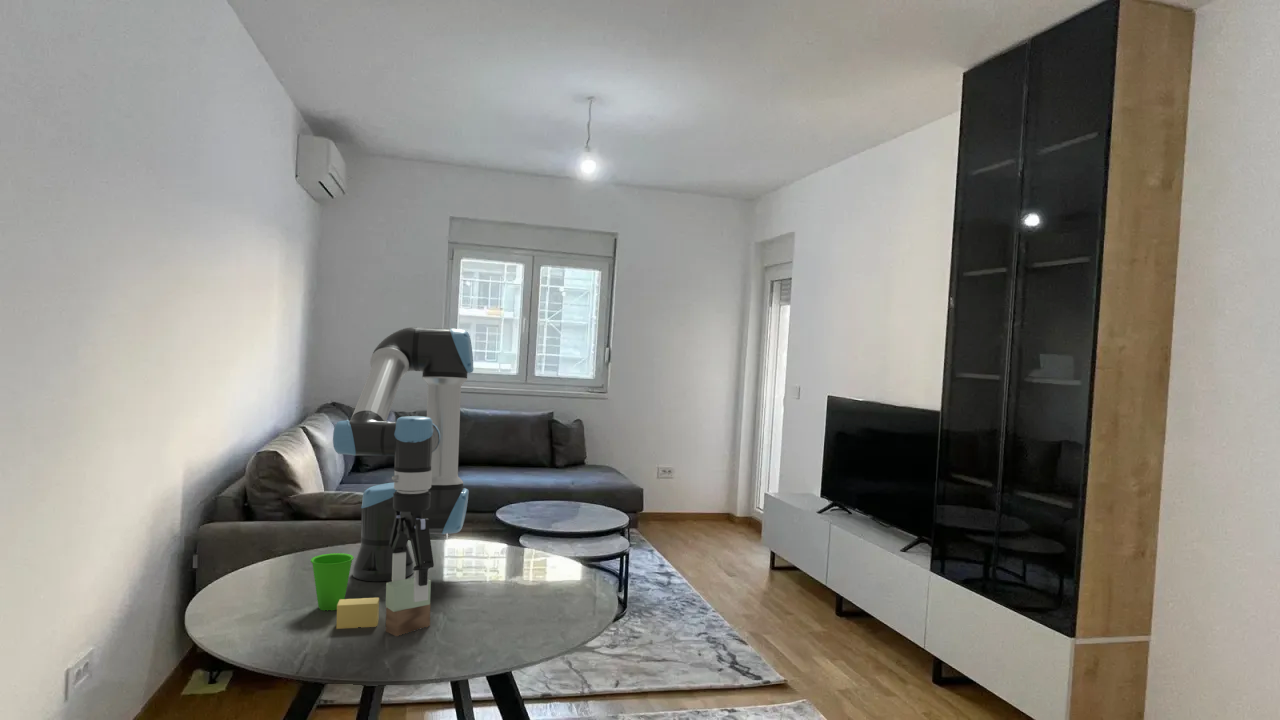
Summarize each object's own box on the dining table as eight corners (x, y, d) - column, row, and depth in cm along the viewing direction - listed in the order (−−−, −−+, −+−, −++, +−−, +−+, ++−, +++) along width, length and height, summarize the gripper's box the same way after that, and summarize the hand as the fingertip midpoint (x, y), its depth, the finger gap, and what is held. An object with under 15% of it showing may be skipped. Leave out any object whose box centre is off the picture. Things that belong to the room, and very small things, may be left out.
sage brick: (393, 611, 154) (394, 587, 154) (385, 606, 157) (386, 582, 157) (430, 604, 159) (430, 580, 159) (421, 599, 162) (422, 576, 162)
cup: (360, 603, 173) (362, 555, 173) (332, 616, 164) (334, 565, 164) (329, 598, 176) (330, 551, 175) (299, 610, 167) (301, 560, 167)
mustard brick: (336, 629, 157) (337, 605, 157) (338, 622, 161) (339, 599, 161) (376, 627, 159) (377, 603, 159) (378, 620, 163) (379, 597, 163)
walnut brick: (396, 636, 154) (397, 612, 154) (385, 631, 156) (386, 607, 156) (429, 626, 160) (430, 603, 160) (418, 622, 162) (419, 598, 162)
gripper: (375, 482, 166) (373, 578, 166) (415, 502, 146) (412, 611, 146) (409, 480, 170) (406, 574, 170) (452, 499, 150) (449, 605, 150)
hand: (409, 591), depth 158 cm, fingers open, 13 cm apart
